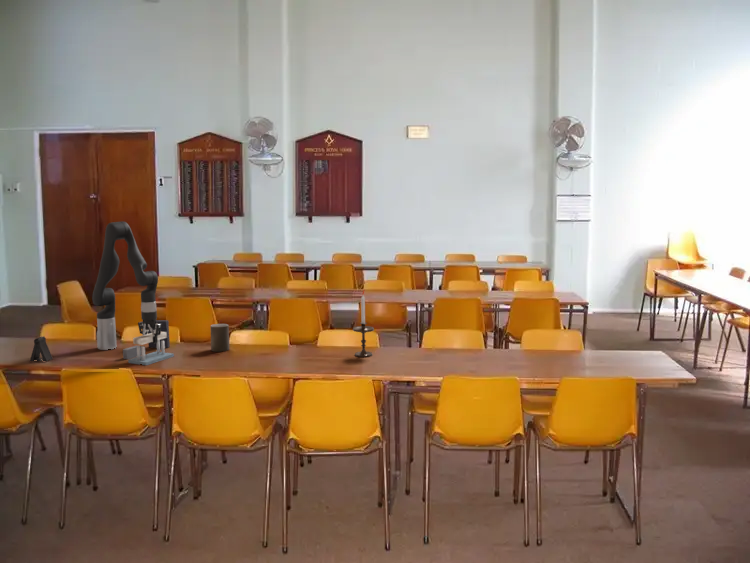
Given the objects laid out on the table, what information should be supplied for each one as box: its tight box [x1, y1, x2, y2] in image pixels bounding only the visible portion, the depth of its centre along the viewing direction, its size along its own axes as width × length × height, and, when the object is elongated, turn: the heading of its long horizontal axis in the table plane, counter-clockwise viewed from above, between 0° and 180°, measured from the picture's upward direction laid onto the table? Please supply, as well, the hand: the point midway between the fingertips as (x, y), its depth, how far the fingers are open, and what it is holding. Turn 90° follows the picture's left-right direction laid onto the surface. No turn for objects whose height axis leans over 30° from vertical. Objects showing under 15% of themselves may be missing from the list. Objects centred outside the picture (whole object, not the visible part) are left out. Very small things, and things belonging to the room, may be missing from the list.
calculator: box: [147, 319, 171, 349], centre depth 402 cm, size 11×4×15 cm, turn 84°
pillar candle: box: [210, 323, 230, 353], centre depth 395 cm, size 10×10×15 cm
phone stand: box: [29, 335, 53, 362], centre depth 375 cm, size 9×6×12 cm, turn 85°
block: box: [122, 344, 142, 360], centre depth 381 cm, size 3×10×5 cm, turn 154°
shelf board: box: [132, 331, 167, 346], centre depth 374 cm, size 6×18×3 cm, turn 154°
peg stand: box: [127, 340, 175, 366], centre depth 375 cm, size 12×20×8 cm, turn 154°
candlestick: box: [352, 289, 375, 358], centre depth 379 cm, size 11×11×35 cm
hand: (150, 342), depth 374 cm, fingers closed on shelf board, 5 cm apart
